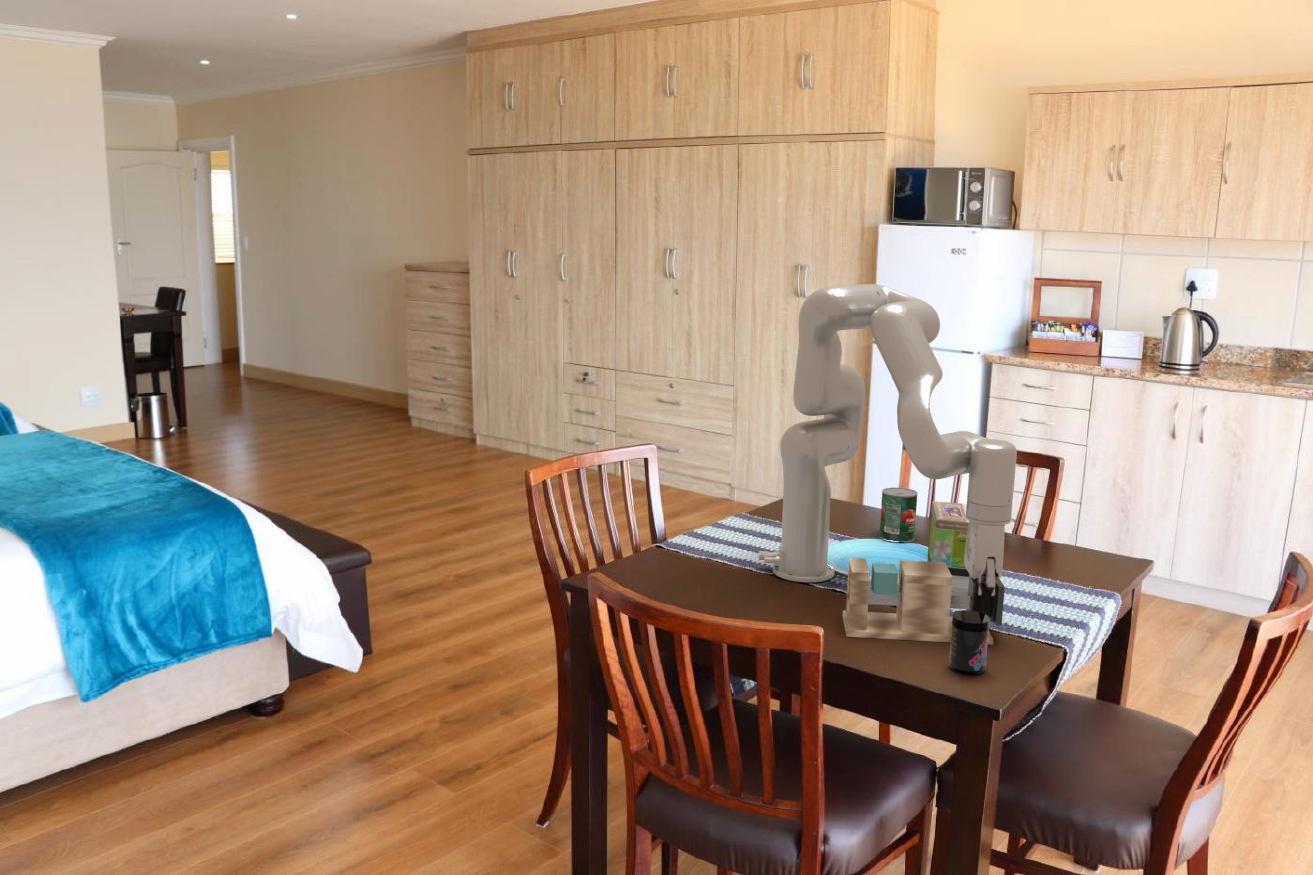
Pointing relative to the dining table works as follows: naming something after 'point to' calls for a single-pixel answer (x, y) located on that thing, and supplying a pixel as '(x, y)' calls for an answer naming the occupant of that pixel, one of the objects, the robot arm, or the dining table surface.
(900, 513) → the canned tomato
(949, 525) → the tea box
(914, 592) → the wooden slotted block
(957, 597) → the shaft
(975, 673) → the supplement container
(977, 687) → the dining table surface
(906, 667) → the dining table surface
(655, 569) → the dining table surface
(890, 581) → the spacer
